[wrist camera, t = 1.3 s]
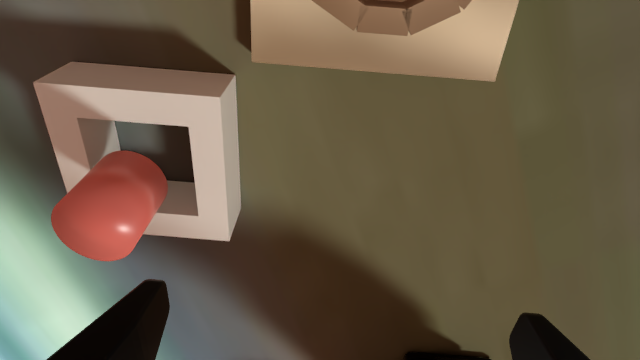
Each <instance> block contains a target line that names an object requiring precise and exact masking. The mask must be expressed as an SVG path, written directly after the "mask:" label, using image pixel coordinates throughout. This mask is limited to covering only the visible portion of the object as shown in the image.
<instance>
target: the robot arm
mask: <svg viewBox="0 0 640 360" xmlns="http://www.w3.org/2000/svg"><path fill="white" fill-rule="evenodd" d="M169 308H170V305H169V298H168V293H167V287H166V283H165V282H164V281H163V280H155V279H147V280H145V281H143V282H142V283H141V284H139V285H138V286H137V287H136V288H134V289H133V290H132V291H131V292H129V293H128V294H127V295H126V296H125V297H123V298H122V299H121V300H120V301H118V302H117V303H116V304H115V305H113V306H112V307H111V308H110V309H108V310H107V311H106V312H105V313H103V314H102V315H101V316H100V317H99V318H97V319H96V320H95V321H94V322H92V323H91V324H90V325H89V326H87V327H86V328H85V329H84V330H82V331H81V332H80V333H79V334H78V335H76V336H75V337H74V338H73V339H71V340H70V341H69V342H68V343H66V344H65V345H64V346H63V347H61V348H60V349H59V350H58V351H56V352H55V353H54V354H53V355H52V356H50V357H49V358H48V359H47V360H155V359H156V355H157V352H158V348H159V345H160V342H161V338H162V335H163V331H164V328H165V325H166V321H167V318H168V314H169ZM509 343H510V349H511V354H512V359H513V360H590V359H589V358H588V357H587V356H586V355H585V354H584V353H583V352H581V351H580V350H579V349H578V348H577V347H576V346H575V345H574V344H573V343H572V342H571V341H570V340H569V339H568V338H566V337H565V336H564V335H563V334H562V333H561V332H560V331H559V330H558V329H557V328H556V327H555V326H554V325H553V324H551V323H550V322H549V321H548V320H547V319H546V318H545V317H544V316H542V315H540V314H536V313H522V314H521V315H520V316H519V318H518V320H517V322H516V324H515V326H514V328H513V330H512V332H511V334H510V339H509ZM404 360H491V359H486V358H474V357H462V356H450V355H438V354H426V353H414V352H410V353H407V354H406V355H405V357H404Z"/></svg>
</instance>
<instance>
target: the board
mask: <svg viewBox="0 0 640 360" xmlns="http://www.w3.org/2000/svg"><path fill="white" fill-rule="evenodd" d="M518 2H519V0H250V3H251V50H252V62H258V63H270V64H283V65H295V66H308V67H320V68H332V69H345V70H357V71H370V72H382V73H395V74H407V75H419V76H432V77H444V78H457V79H469V80H482V81H494V82H495V79H496V76H497V72H498V69H499V66H500V62H501V59H502V56H503V52H504V49H505V46H506V42H507V39H508V36H509V32H510V29H511V26H512V22H513V19H514V16H515V12H516V9H517V6H518Z"/></svg>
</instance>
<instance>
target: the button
mask: <svg viewBox="0 0 640 360" xmlns="http://www.w3.org/2000/svg"><path fill="white" fill-rule="evenodd" d="M167 192H168V184H167V180H166V177H165V175H164V173H163V172H162V170H161V169H160V168H159V167H158V166H157V165H156V164H155V163H154V162H153V161H152V160H150V159H149V158H147V157H145V156H143V155H141V154H139V153H136V152H132V151H115V152H112V153H109V154H107V155H106V156H104V157H103V158H102V159H101V160H100V161H99V162H98V163H97V164H96V165H95V166H94V167H93V168H92V169H91V170H90V171H89V172H88V173H87V174H86V175H85V176H84V177H83V178H82V179H81V180H80V181H79V182H78V183H77V184H76V185H75V186H74V187H73V188H72V189H71V190H70V191H69V192H68V193H67V194H66V195H65V196H64V197H63V198H62V199H61V200H60V201H59V202H58V203H57V205H56V206H55V207H54V209H53V211H52V215H51V221H52V226H53V229H54V231H55V233H56V234H57V236H58V237H59V238H60V240H61V241H62V242H63V243H64V244H65V245H66V246H68V247H69V248H70V249H72V250H73V251H75V252H76V253H78V254H80V255H82V256H85V257H87V258H91V259H94V260H100V261H114V260H119V259H122V258H124V257H126V256H127V255H129V254H130V253H131V252H132V250H133V249H134V247H135V245H136V244H137V242H138V241H139V239H140V238H141V236H142V234H143V233H144V231H145V230H146V228H147V226H148V225H149V223H150V222H151V220H152V219H153V217H154V215H155V214H156V212H157V211H158V209H159V207H160V206H161V204H162V203H163V201H164V199H165V198H166V196H167Z"/></svg>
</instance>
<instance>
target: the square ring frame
mask: <svg viewBox="0 0 640 360" xmlns="http://www.w3.org/2000/svg"><path fill="white" fill-rule="evenodd" d="M33 84H34V88H35V91H36V94H37V97H38V100H39V104H40V107H41V110H42V113H43V116H44V120H45V123H46V126H47V129H48V133H49V136H50V139H51V142H52V145H53V149H54V152H55V155H56V158H57V161H58V165H59V168H60V171H61V174H62V178H63V181H64V184H65V187H66V190H67V193H68V192H69V191H70V190H71V189H72V188H73V187H74V186H75V185H76V184H77V183H78V182H79V181H80V180H81V179H82V178H83V177H84V176H85V175H86V174H87V173H88V172H89V171H90V170H91V169H92V168H93V167H94V166H95V165H96V164H97V163H98V162H99V161H100V160H101V159H102V158H103V157H104V156H106V155H107V154H109V153H112V152H115V151H121V149H120V145H119V140H118V135H117V131H116V126H115V121H124V122H137V123H149V124H161V125H174V126H186V127H189V136H190V145H191V154H192V162H193V171H194V180H195V183H192V182H180V181H168V180H167V184H168V192H167V196H166V198H165V199H164V201H163V203H162V204H161V206H160V207H159V209H158V211H157V212H156V214H155V215H154V217H153V219H152V220H151V222H150V223H149V225H148V226H147V228H146V230H145V231H144V233H143V234H147V235H159V236H171V237H183V238H196V239H208V240H220V241H230V238H231V235H232V232H233V230H234V227H235V224H236V221H237V218H238V215H239V212H240V210H241V192H240V169H239V146H238V122H237V99H236V76H235V75H233V74H220V73H208V72H195V71H183V70H171V69H158V68H146V67H133V66H121V65H109V64H96V63H84V62H70V63H68V64H66V65H64V66H62V67H60V68H59V69H57V70H55V71H53V72H51V73H49V74H47V75H45V76H44V77H42V78H40V79H38V80H36V81H34V82H33Z"/></svg>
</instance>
